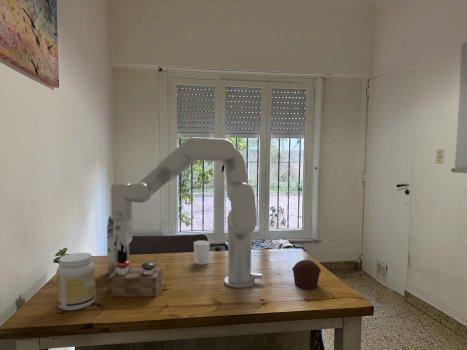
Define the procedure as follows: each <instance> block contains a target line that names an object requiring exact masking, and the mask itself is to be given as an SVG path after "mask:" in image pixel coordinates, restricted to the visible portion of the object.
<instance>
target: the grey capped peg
mask: <svg viewBox="0 0 467 350" xmlns="http://www.w3.org/2000/svg"><path fill="white" fill-rule="evenodd" d="M156 265H157V264H156V262H155V261H145V262H142V263H141V267H142V268H143V271H144V274H154V268H155V267H157V266H156Z"/></svg>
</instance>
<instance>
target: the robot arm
mask: <svg viewBox="0 0 467 350" xmlns="http://www.w3.org/2000/svg"><path fill="white" fill-rule="evenodd" d="M196 161H208V162H209V161H210V162H215V161H216V162H221V163H222V164H223V166H224V171H225V178H226V179H225V181H226V196H227V199H228V200H229V201H230V211H229V213H228V214H227V220H226V221H227V236H228V237H227V238H228V241H227V243H228V246H227V248H228V249H227V276H225V278H224V280H223V281H224V284H225V285H226V286H227V287H230V288H234V289H245V288H249V287H252V286H253V285H254V284H255V281H256V280H257V279H258V280H263V274H262V273H259V272H253V271H252V233H253V232H254V231H255V229H256V226H257V222H258V221H257V220H258V219H257V209H256V208H257V206H256V196H255V195H256V194H255V191H254V190H253V188H252V186H251V185H250V184H249V183H248V176H247V167H246V162H245V159H244V156H243V155H242V153H241V152H240V150H238V148H236V147H235V145H234V143H233V142H232V141H231V140H229V139H227V138H216V137H215V138H213V137H210V138H209V137H195V136H192V137H189V138H186V140H185V141H183V142H182V143H181V144H179V146H178V147H177V148H176V149H174V150H173V151H172V152H170V154H168V155H167V156H166V157H165V158H164V159H163V158H162V160H161V161H160V162H159V164H157V165H156V167H155V168H154V169H153V170H152V171H151V172H149V173H148V174H147V175H146V176H145V177H143V178H142V179H141V180H139V182H137V183H128V182H116V183H113V184H111V187H110V195H111V196H110V199H111V201H110V204H111V207H110V208H111V209H110V210H111V212H110V213H111V215H112V220H114V222H113V245H114V246H116V245H117V247H116V250H117V252H118V262H126V261H127V245H128V244H129V245H130V243H131V242H132V241H133V227H132V225H133V224H132V219H133V203H136V204H137V203H139V204H142V203H146V202H147V201H149V200H150V198H151V197H152V196H153V195H154V194H156V192H158V191H159V190H160V189H161V188H162V187H163V186H165V185H166V184H167V183H169V182H170V181H172V180H173V181H174V179H176V178H177V177H179V176H180V175H181V174H182V173H183V172H184V171H186V170H187V169H188V168H189V167H190V166H191V165H192V164H194V163H195V162H196Z"/></svg>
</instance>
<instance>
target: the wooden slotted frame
mask: <svg viewBox="0 0 467 350" xmlns="http://www.w3.org/2000/svg"><path fill="white" fill-rule="evenodd" d="M106 282H107V284H106V285H107V287H106V288H107V290H106V291H107V298H113V297H112V296H123V297H124V296H126V297H127V298H128V297H129V296H131V297H157V296H158V293H159V291H160V289H161V286H162V284H163V267H162V266H156V267H155V268H154V274H144V271H143V268H142V266H131V267H130V266H129V267H128V274H127V275H117V268H116V269H115V270H114V272H113V273H112V274H111V275H108V277H107V278H106ZM123 297H122V298H123ZM126 297H124V298H126Z"/></svg>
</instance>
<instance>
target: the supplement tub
mask: <svg viewBox="0 0 467 350" xmlns="http://www.w3.org/2000/svg"><path fill="white" fill-rule="evenodd" d="M95 269H96V266H95V263H94V261H93V256H92V254H91V253H89V252H73V253H69V254H65V255H63V256H61V257H60V258H58V267H57V269H56V291H57V295H56V296H57V306H58V308H60V309H61V310H63V311H76V310H81V309H83V308H87V307H88V306H91V305H92V304H94V302H95V301H96V270H95Z"/></svg>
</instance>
